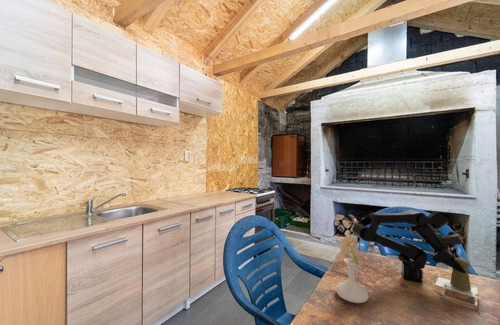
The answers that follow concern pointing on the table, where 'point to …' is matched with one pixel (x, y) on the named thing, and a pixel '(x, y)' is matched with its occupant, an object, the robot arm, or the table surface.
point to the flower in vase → (351, 274)
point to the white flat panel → (442, 282)
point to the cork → (461, 276)
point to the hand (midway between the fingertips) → (465, 270)
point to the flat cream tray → (459, 300)
